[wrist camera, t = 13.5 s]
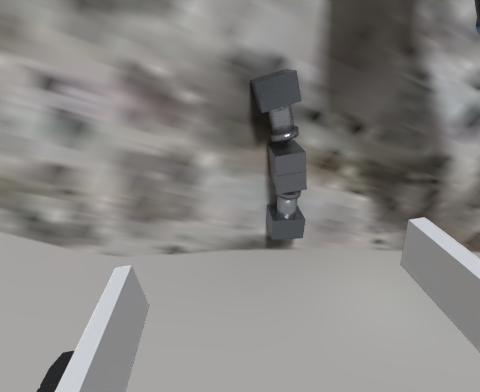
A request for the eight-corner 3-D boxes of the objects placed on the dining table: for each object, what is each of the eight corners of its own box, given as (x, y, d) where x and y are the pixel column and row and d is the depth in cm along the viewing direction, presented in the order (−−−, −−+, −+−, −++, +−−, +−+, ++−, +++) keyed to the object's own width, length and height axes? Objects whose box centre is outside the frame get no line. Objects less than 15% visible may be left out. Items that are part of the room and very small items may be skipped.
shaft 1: (250, 80, 35) (255, 83, 31) (286, 69, 35) (296, 70, 31) (263, 136, 39) (270, 145, 35) (296, 126, 39) (307, 134, 34)
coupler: (295, 173, 42) (306, 189, 37) (270, 177, 42) (278, 193, 37) (293, 139, 40) (305, 151, 34) (267, 143, 40) (275, 156, 34)
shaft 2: (268, 181, 42) (274, 195, 38) (299, 180, 43) (308, 194, 38) (266, 222, 46) (271, 239, 42) (294, 221, 46) (302, 238, 42)
